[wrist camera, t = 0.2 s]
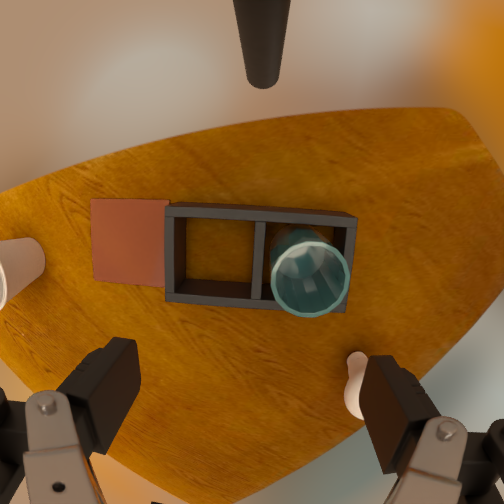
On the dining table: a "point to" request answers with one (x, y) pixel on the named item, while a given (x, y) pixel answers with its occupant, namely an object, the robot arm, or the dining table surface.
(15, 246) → the dixie cup
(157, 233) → the coaster
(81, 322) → the dining table surface
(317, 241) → the cup
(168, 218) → the divided storage box
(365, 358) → the lightbulb
